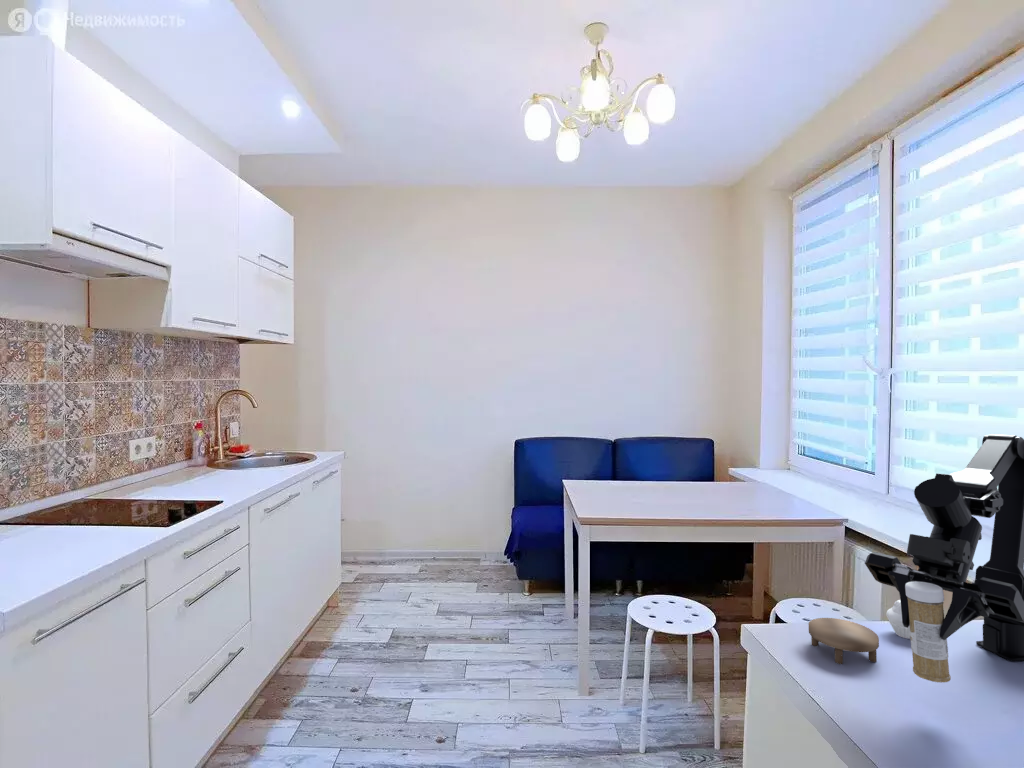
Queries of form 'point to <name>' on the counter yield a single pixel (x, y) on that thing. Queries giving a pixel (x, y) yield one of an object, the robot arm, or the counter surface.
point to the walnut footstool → (844, 637)
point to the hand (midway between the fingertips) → (922, 631)
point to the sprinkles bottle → (927, 631)
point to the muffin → (898, 620)
